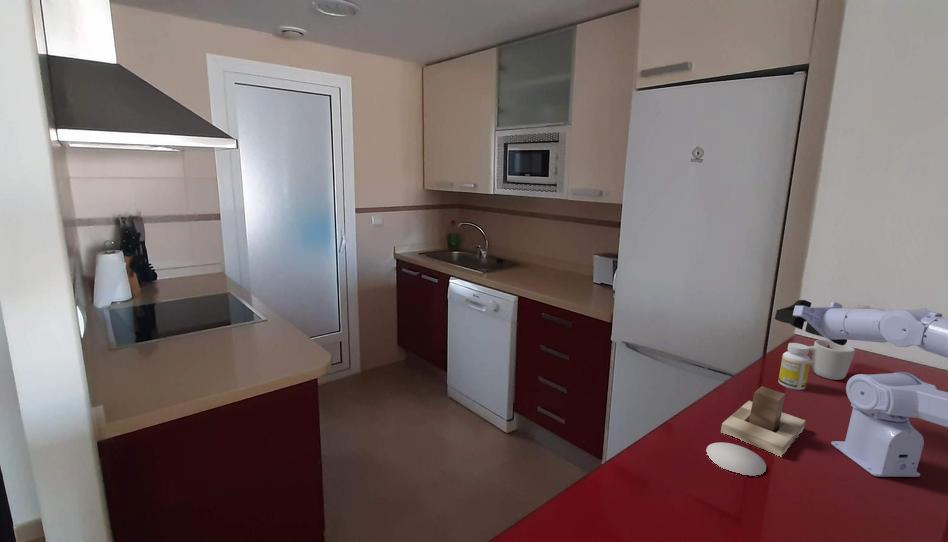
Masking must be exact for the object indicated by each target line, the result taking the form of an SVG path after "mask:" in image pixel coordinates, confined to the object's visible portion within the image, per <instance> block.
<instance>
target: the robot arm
mask: <svg viewBox="0 0 948 542" xmlns="http://www.w3.org/2000/svg"><path fill="white" fill-rule="evenodd" d="M774 320H775V321H778V322H781V323H784V324H785V323H786V324H790V325H791V326H793V327H794V328H795V329H799V330H802V331H803V328H804V326H805V325H804V324H805V322H806V326H805V330H804V331H805V332H806V333H808V334H811V335H814V336H818V337H821V338H825V339H826V340H831V341H832V342H834V343H836V344H839V345H845V344H847V342H848V341H857V342H858V341H859V342H872V343H881V344H882V343H890V344H892V345H894V346H895V347H897V348H908V347H912V346H916V347H918V348H919V349H921V350H923V351H926V352H928V353H931V354H934V355H937V356H940V357H943V358H946V359H948V318H947V317H944V316H943V313H940V312H938V311H932V310H929V309H927V308H925V307H923V308H916V309H914V308H913V309H912V308H911V309H896V310H895V309H883V308H852V307H851V308H845V307H844V308H843V304H841V303H840V302H836V301H832V302H831V303H830V305H829V306H820V307H819V306H815V307H813V306H812V302H811V301H808V300H806V299H798V300H797V301H795V302H794V303H793V304H792V305H790V306H787V307H783V308H780V309H776V312H775V315H774ZM845 385H846V387H845V389H846V390H845V392H846V395H847V398H848V400H849V402H850V403H851V404H850V406H851V407H852V411H851V414H850V415H851V416H850V419H849V422H848V423H849V424H848V428H847V432H846V437H845V439H844V440H845V441H844V440H843V441H841V440H839V441H835V440H834V441H831V442H830V444H831V446H833V447H834V448H835V449H837V450H839V451H840V452H841V453H843V454H844V455H845V456H847V457H848V458H849V459H851V460H852V461H853V462H854V463H856V464H857V465H858V466H860V467H861V468H862V469H864V470H865V471H867V472H868V473H870V474H871V475H872V476H874V477H887V478H888V477H894V478H895V477H900V478H901V477H908V478H909V477H911V478H916V477H917V478H919V477H920V476H921V473H920V472H918V467H919V463H920V460H921V456H922V452H923V448H924V445H925V441H924V437H923V435H922V434H921V432H919V431H918V430H917V429H916V428H915V427H913V425H912V424H911V422H910V420H909V419H910V418H914V419H915V418H916V419H921V420H923V421H927V422H930V423H932V424H935V425H938V426H942V427H945V428H948V392H947V391H945V390H944V391H943V390H940V389H937V386H936V385H934V384H932V383H928V382H925V381H923V380H921V379H920V378H918V377H917V376H915V375H914V374H912V373H910V372H905V371H895V372H891V373H876V374H874V373H873V374H866V373H865V374H863V373H860V374H857V373H856V374H855V375H853V376H851V377H850V378H849V379H848V380H847V383H846V384H845Z"/></svg>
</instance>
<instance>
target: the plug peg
mask: <svg viewBox="0 0 948 542" xmlns="http://www.w3.org/2000/svg"><path fill="white" fill-rule="evenodd" d="M785 396H786V393H783V392H782V391H777V390H774V389H772V388H768V387H766V386H760V387H758V388H757V390H755V391H754V392H753V398H752V402H753V403H752V408H751V413H750V419H749V423H751V424H754V425H756V426H759V427H762V428H764V429H767V430H769V431H772V432H775V433H776V432H777V431H778V428H779V423H780V418H781V413H782V412H783V407H784V402H785V398H786V397H785Z"/></svg>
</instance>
